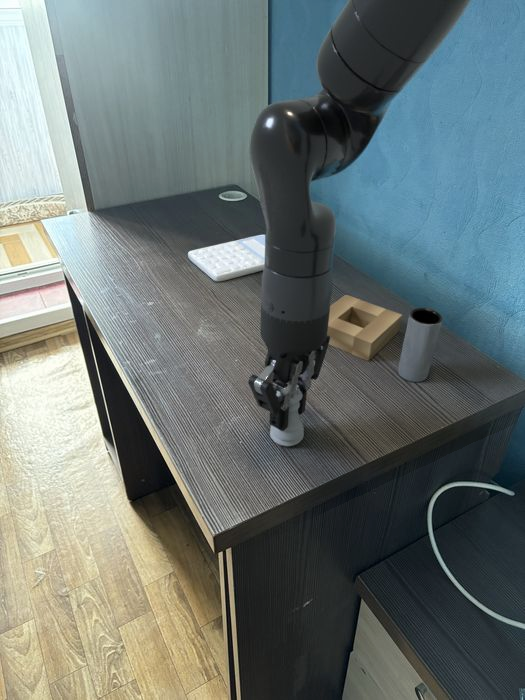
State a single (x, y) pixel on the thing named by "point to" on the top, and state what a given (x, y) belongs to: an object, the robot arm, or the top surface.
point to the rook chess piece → (290, 423)
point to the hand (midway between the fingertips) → (287, 418)
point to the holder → (361, 326)
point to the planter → (419, 344)
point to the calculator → (231, 258)
